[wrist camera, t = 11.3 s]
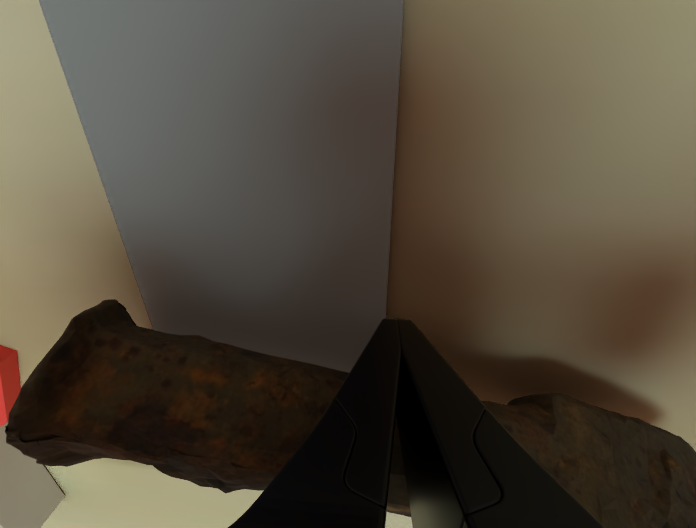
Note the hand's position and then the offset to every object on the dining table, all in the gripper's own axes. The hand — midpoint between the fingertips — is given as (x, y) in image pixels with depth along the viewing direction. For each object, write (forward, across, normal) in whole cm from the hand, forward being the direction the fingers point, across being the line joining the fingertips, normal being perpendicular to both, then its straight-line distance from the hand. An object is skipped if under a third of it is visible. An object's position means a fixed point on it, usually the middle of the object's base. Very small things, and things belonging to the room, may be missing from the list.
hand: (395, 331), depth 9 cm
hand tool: (+1, -1, +2) cm, 2 cm away
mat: (+2, +4, -1) cm, 5 cm away
